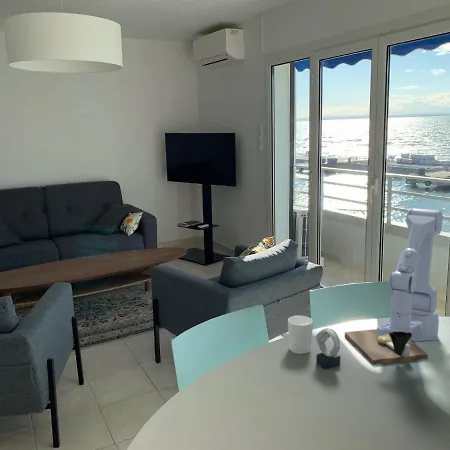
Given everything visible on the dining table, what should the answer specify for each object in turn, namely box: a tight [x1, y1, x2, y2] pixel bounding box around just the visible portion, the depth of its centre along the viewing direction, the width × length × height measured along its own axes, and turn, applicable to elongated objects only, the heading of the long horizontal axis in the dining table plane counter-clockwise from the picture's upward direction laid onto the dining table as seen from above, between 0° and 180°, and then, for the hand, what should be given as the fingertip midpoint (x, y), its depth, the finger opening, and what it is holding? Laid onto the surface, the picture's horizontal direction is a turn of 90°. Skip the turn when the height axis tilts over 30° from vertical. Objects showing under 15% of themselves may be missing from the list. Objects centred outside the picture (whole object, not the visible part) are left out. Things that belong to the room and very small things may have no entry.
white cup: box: [287, 315, 314, 355], centre depth 151 cm, size 8×8×10 cm
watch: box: [315, 328, 341, 370], centre depth 141 cm, size 6×8×11 cm
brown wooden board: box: [344, 328, 429, 365], centre depth 152 cm, size 18×20×2 cm
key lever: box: [378, 336, 410, 357], centre depth 147 cm, size 13×4×3 cm, turn 18°
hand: (398, 353), depth 142 cm, fingers closed
